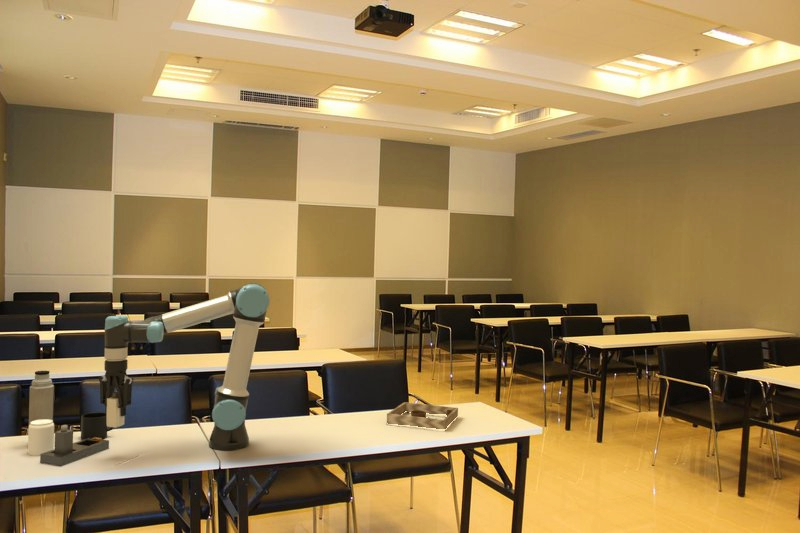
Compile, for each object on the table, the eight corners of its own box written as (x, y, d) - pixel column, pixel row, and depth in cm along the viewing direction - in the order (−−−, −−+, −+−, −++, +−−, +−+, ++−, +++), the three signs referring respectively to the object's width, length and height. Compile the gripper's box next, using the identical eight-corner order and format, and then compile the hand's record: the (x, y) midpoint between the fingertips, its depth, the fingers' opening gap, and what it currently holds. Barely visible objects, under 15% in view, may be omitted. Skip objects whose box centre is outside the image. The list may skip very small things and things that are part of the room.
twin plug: (72, 458, 224) (73, 424, 224) (63, 462, 221) (64, 427, 220) (63, 457, 226) (64, 423, 225) (54, 460, 222) (55, 426, 222)
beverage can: (34, 451, 234) (35, 418, 234) (57, 451, 235) (58, 419, 235) (23, 458, 226) (24, 424, 226) (47, 458, 227) (48, 424, 227)
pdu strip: (89, 448, 240) (89, 435, 240) (108, 451, 237) (109, 438, 237) (40, 465, 219) (40, 452, 219) (60, 469, 216) (60, 455, 216)
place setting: (414, 416, 307) (414, 404, 307) (453, 422, 299) (453, 409, 299) (398, 424, 292) (399, 411, 292) (439, 431, 283) (439, 417, 283)
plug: (124, 424, 229) (124, 391, 229) (115, 427, 225) (116, 393, 225) (115, 423, 231) (115, 390, 230) (106, 426, 227) (107, 392, 226)
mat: (138, 456, 232) (138, 455, 232) (114, 466, 221) (114, 465, 221) (112, 452, 236) (112, 451, 236) (87, 462, 224) (87, 461, 224)
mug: (111, 440, 251) (112, 417, 251) (78, 441, 248) (78, 418, 248) (115, 433, 260) (116, 411, 260) (83, 434, 257) (84, 412, 257)
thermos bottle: (41, 440, 247) (43, 368, 247) (57, 443, 245) (59, 370, 244) (23, 445, 240) (25, 371, 239) (39, 448, 237) (41, 373, 237)
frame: (457, 418, 305) (458, 407, 305) (444, 431, 280) (444, 420, 280) (403, 412, 313) (404, 402, 313) (386, 424, 288) (387, 413, 288)
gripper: (143, 359, 229) (142, 424, 229) (104, 356, 234) (104, 419, 234) (128, 362, 221) (127, 429, 222) (88, 359, 227) (88, 424, 227)
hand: (115, 424), depth 228 cm, fingers closed on plug, 4 cm apart
